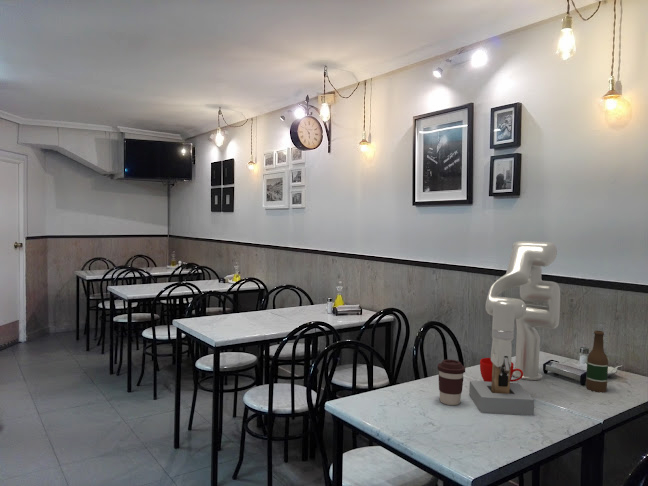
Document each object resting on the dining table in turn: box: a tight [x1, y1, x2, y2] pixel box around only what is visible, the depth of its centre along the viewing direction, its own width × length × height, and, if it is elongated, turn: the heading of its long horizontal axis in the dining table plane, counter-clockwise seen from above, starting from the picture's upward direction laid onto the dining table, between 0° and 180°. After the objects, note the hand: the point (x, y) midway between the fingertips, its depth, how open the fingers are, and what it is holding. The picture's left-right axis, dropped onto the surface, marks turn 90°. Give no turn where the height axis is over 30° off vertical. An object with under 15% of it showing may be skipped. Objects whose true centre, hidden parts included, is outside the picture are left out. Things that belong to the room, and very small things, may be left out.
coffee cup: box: [436, 359, 466, 406], centre depth 182 cm, size 10×10×15 cm
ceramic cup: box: [479, 357, 523, 383], centre depth 201 cm, size 13×17×10 cm
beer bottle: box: [585, 330, 609, 393], centre depth 201 cm, size 8×8×24 cm
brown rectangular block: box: [491, 363, 511, 394], centre depth 181 cm, size 5×5×14 cm
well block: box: [468, 380, 535, 416], centre depth 181 cm, size 18×18×6 cm
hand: (500, 383), depth 181 cm, fingers closed on brown rectangular block, 5 cm apart
